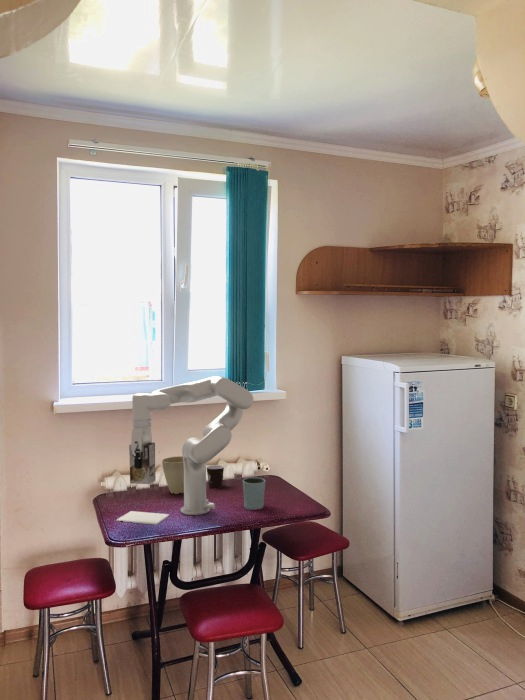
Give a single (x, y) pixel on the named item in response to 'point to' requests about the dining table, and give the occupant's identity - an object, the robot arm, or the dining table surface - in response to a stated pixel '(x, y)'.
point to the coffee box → (143, 466)
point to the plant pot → (174, 473)
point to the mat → (143, 517)
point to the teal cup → (253, 493)
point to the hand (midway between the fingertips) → (142, 466)
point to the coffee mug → (215, 475)
